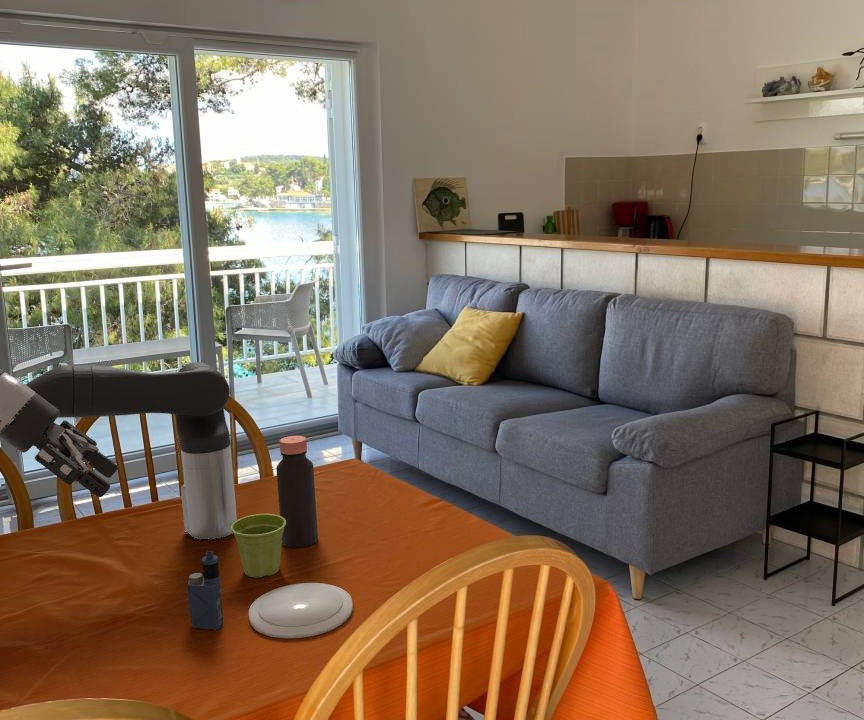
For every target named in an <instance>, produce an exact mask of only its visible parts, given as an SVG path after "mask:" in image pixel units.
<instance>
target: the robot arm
mask: <svg viewBox="0 0 864 720" xmlns="http://www.w3.org/2000/svg"><path fill="white" fill-rule="evenodd" d="M230 395H231V389H230V384H229V383H228V381H227V379H226V378H225V376H224V375H223V374H222V373H221V372H220V371H218V369H216V368H215V367H214V366H212V365H210V364H209V363H206V362H202V361H200V362H199V361H196V362H190V363H188V364H184V365H183V366H182V367H181V368H180V369H179V370H178V371H177V372H176V371H175V372H163V373H161V372H159V373H158V372H156V373H155V372H153V373H152V372H142V371H137V370H131V369H127V368H119V367H114V366H107V365H94V364H93V365H85V364H83V365H81V364H80V365H79V364H78V365H77V364H76V365H68V364H67V365H60V366H57V367H54V368H52V369H49V370H48V371H46V372H44V373H42V374H40V375H39V376H37V377H35V378H34V379H32V380H31V381H29V382H27V383H26V384H25V383H23V382H22V381H21V380H19V379H17V378H16V377H14V376H12V375H11V374H9V373H8V372H5V371H4V370H3V369H1V368H0V438H1V439H2V440H3V441H5V442H6V443H7V444H9V445H11V446H12V447H13V448H15V449H16V450H18V452H20V453H26V452H28V451H29V450H30V449H31V448H32V447H34V448H36V449H37V450H38V452H37V454H36V455H35V456H34V460H35V461H36V462H37V463H39V464H40V465H42V466H43V467H44V468H46V469H47V470H48V471H50V472H51V473H52V474H54V475H55V476H56V477H57V478H59V479H60V480H61V481H63V482H64V483H65V484H67V485H69V486H71V485H72V484H73V483H74V484H80V485H81V486H82V487H84V488H85V489H86V490H88V491H89V492H91V493H92V494H93V495H95V496H96V497H97V498H102V497H103V496H105V495H106V493H107V492H108V491H109V490H110V488H111V484H110V482H108V481H107V480H105V479H104V478H103V477H105V478H106V479H110V478H111V477H112V476H113V475H114V474H116V472H117V471H118V468H119V465H117V463H115V462H113V460H111V459H109V457H107V455H106V456H105V454H103V453H102V452H100V449H99V448H98V446H97V445H98V442H97V441H96V440H94V439H93V438H91V437H90V436H88V435H87V434H86V433H84V432H83V431H81V430H80V429H78V428H77V427H76V426H74V425H73V424H71V423H70V422H69V421H68V420H66V418H67V419H68V418H69V419H72V418H73V419H74V418H97V417H116V416H129V415H130V416H131V415H140V414H164V415H165V414H166V415H168V414H169V415H174V416H175V422H176V429H177V434H178V439H179V443H180V453H181V454H180V456H181V462H182V463H181V464H182V473H183V482H184V483H183V485H181V487H180V495H181V504H182V516H183V526H184V533H185V532H188V533H189V534H190V535H191V536H192V537H194V538H193V539H195V538H197V539H196V540H201V539H210V540H216V539H215V538H217V539H221V537H222V538H224V537H227V536H230V535H232V534H234V533H233V532H232V531H231V525H232V524H233V523H234V522H235V521H237V520H238V519H237V518H238V517H237V506H236V494H235V481H234V472H233V459H232V449H231V438H230V437H231V435H230V430H229V428H228V424H227V420H226V415H225V407H226V405H227V404H228V402H229V400H230ZM58 418H61V419H63V418H65V420H63V421H62V422H61V423H60V424H57V423H55V421H56V420H57V419H58ZM85 463H87V464H88V466H90V467H92V468H93V469H94V470H96V471H97V472H98V473H100V474H101V475H102V476H103V477H101V476H100V475H98V474H97V473H96V472H95V471H93V470H92V469H89V467H88V466H87V465H86V464H85ZM188 533H187V534H188ZM189 534H188V535H189ZM190 535H189V536H190ZM191 536H190V537H191ZM192 537H191V538H192Z"/></svg>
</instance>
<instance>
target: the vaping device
mask: <svg viewBox="0 0 864 720" xmlns="http://www.w3.org/2000/svg"><path fill="white" fill-rule="evenodd" d="M201 564H202V565H201V566H202V567H201V568H202V573H201V572H194V573H191V574H189V576H188V579H189V580H188V582H187V585H186V591H187V600H188V601H187V602H188V603H187V604H188V611H189V622H190V624H191V627H192V626H193V627H194V628H193V627H192V628H193V629H196V628H201V629H202V630H210V629H213V630H215V631H216V630H219V629H220V628H222V627H223V626H224V614H223V603H222V601H223V600H222V590H223V589H222V586H221V584H222V583H221V579H220V565H219V557H218V556H217V555H215V554H214V551H213V550H212V551H210V550H209V551H206V552H205V556H203V557H202V559H201ZM201 629H200V630H201ZM213 630H212V631H213Z"/></svg>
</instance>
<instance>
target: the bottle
mask: <svg viewBox="0 0 864 720" xmlns="http://www.w3.org/2000/svg"><path fill="white" fill-rule="evenodd" d="M279 452H280V456H282V459H281V460H280V462H278V463H277V465H276V470H275V471H276V483H277V495H278V498H277V499H278V506H279V507H278V509H279V516H281V517H283V518H284V519H285V520H286V525H285V527H284V531H283V534H282V541H281V544H282V545H284V546H285V547H287V548H290V549H291V548H292V549H301V548H307V547H310V546H313V545H314V544H316V543H317V541H318V539H319V532H318V530H319V527H318V517H317V514H318V513H317V501H316V485H315V469H314V463H313V462H312V461H311V460H310V459H309V458H308V457H307V455H306V454H307V452H308V443H307V437H305V436H302V435H289V436H284V437H282V438H281V439H279Z"/></svg>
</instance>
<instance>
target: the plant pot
mask: <svg viewBox="0 0 864 720" xmlns="http://www.w3.org/2000/svg"><path fill="white" fill-rule="evenodd" d="M285 525H286V520H285V519H284V518H283V517H281V516H280V515H278V514H273V513H258V514H251V515H246V516H244V517H241V518H239V519H237V521H235V522H234V523H233V524H232V525H231V531H232V532H233V533H232V534H234V538H235V539H236V542H237V546H238V552H239V556H240V560H241V564H242V569H243V572H244V574H245V575H246V576H247V577H250V578H257V579H259V578H262V577H265V576H273V575H274V574H276V573H277V572H278V571H280V567H281V550H282V534H283V531H284V527H285Z"/></svg>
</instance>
